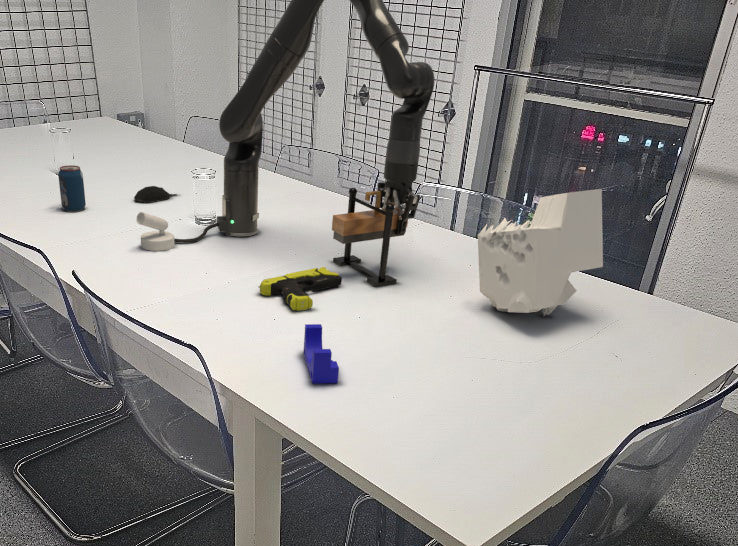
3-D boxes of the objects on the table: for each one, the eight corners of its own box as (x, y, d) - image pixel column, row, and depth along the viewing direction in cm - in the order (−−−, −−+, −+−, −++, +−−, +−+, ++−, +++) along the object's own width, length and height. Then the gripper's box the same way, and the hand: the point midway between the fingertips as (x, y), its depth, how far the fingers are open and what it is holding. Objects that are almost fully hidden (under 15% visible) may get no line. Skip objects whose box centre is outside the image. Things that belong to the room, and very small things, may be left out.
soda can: (89, 206, 223) (85, 165, 217) (82, 213, 217) (77, 170, 211) (66, 205, 224) (62, 164, 218) (58, 211, 218) (54, 169, 212)
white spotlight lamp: (127, 209, 188) (158, 202, 194) (130, 246, 193) (159, 238, 199) (149, 216, 183) (180, 209, 189) (151, 254, 188) (181, 245, 194)
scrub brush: (342, 244, 171) (346, 198, 166) (331, 238, 175) (334, 192, 169) (406, 235, 178) (411, 190, 173) (393, 229, 182) (399, 185, 177)
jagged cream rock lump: (533, 326, 148) (528, 197, 143) (477, 323, 162) (470, 205, 157) (604, 311, 157) (602, 188, 151) (545, 309, 171) (541, 197, 165)
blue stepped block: (337, 383, 132) (340, 352, 129) (312, 383, 131) (314, 353, 128) (326, 353, 142) (329, 324, 139) (303, 353, 142) (305, 324, 139)
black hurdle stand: (375, 287, 172) (383, 207, 163) (332, 261, 187) (338, 186, 177) (396, 283, 175) (406, 204, 165) (353, 258, 189) (359, 184, 179)
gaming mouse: (181, 197, 235) (181, 184, 233) (141, 204, 227) (140, 191, 225) (171, 193, 239) (170, 180, 237) (130, 199, 231) (129, 186, 229)
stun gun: (364, 285, 165) (323, 265, 176) (293, 301, 156) (254, 278, 167) (362, 298, 167) (322, 277, 177) (292, 314, 157) (254, 291, 168)
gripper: (370, 153, 174) (363, 224, 183) (407, 166, 163) (398, 242, 172) (397, 150, 177) (388, 221, 186) (434, 163, 166) (424, 238, 175)
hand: (393, 231), depth 179 cm, fingers closed on scrub brush, 5 cm apart
